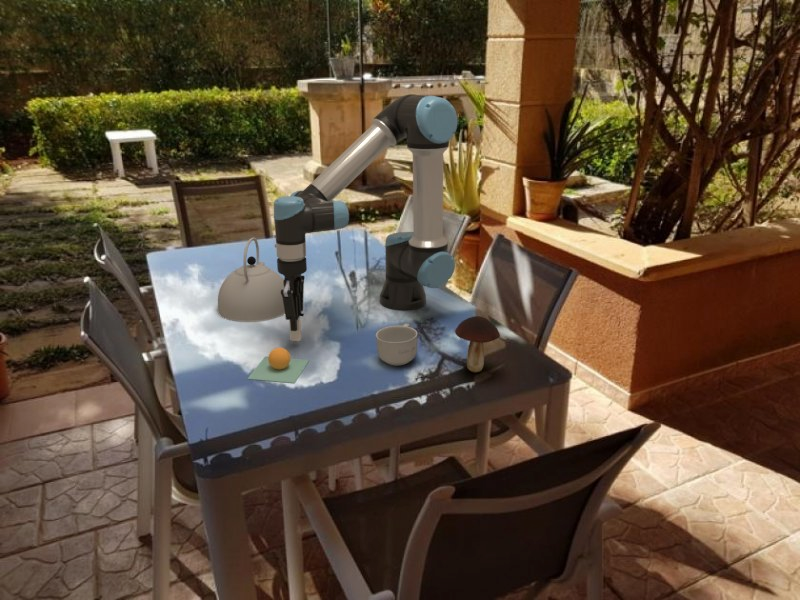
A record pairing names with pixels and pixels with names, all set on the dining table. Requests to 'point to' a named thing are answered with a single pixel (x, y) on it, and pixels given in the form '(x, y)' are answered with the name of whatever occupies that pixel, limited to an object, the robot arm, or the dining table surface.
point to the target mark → (278, 371)
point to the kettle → (251, 292)
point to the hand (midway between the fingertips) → (296, 339)
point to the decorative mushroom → (476, 339)
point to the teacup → (397, 344)
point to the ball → (279, 358)
